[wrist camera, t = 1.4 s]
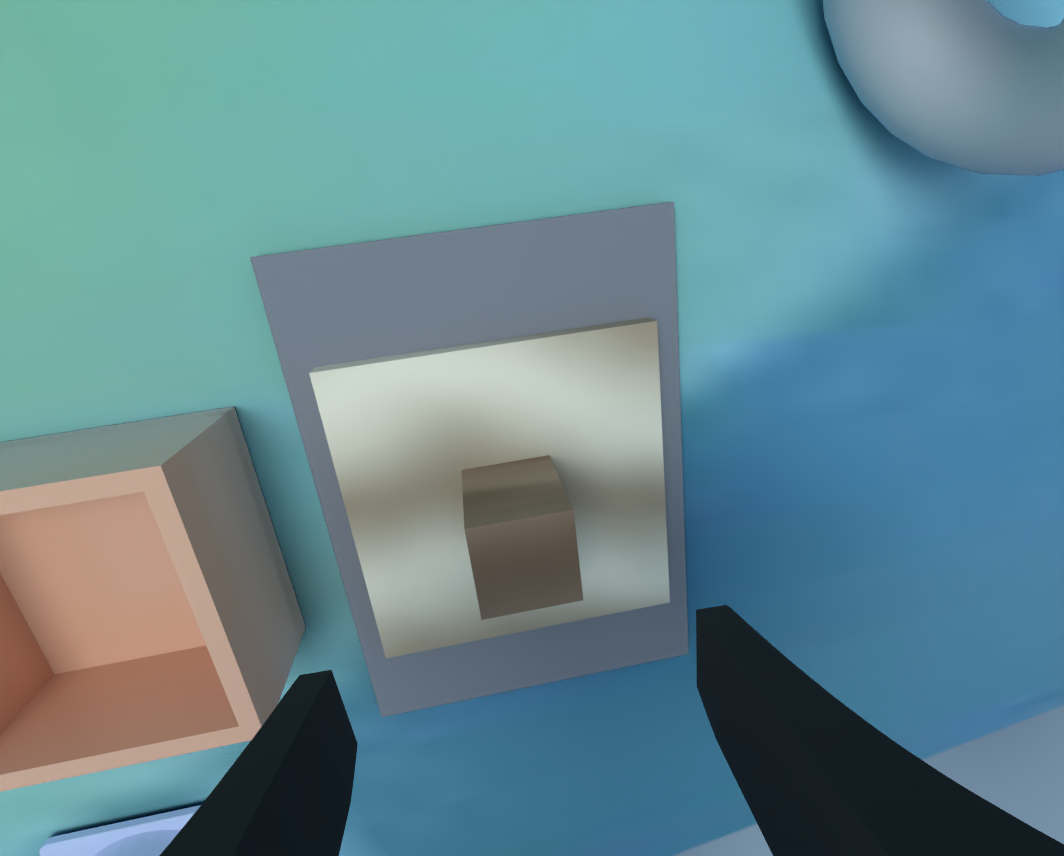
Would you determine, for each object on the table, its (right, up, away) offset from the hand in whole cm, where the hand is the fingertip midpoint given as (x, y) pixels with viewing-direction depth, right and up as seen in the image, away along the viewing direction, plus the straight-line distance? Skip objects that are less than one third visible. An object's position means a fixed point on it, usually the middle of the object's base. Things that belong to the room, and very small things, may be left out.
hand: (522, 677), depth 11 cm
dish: (-13, +1, +9) cm, 16 cm away
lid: (-1, +3, +9) cm, 9 cm away
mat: (-1, +3, +10) cm, 10 cm away
